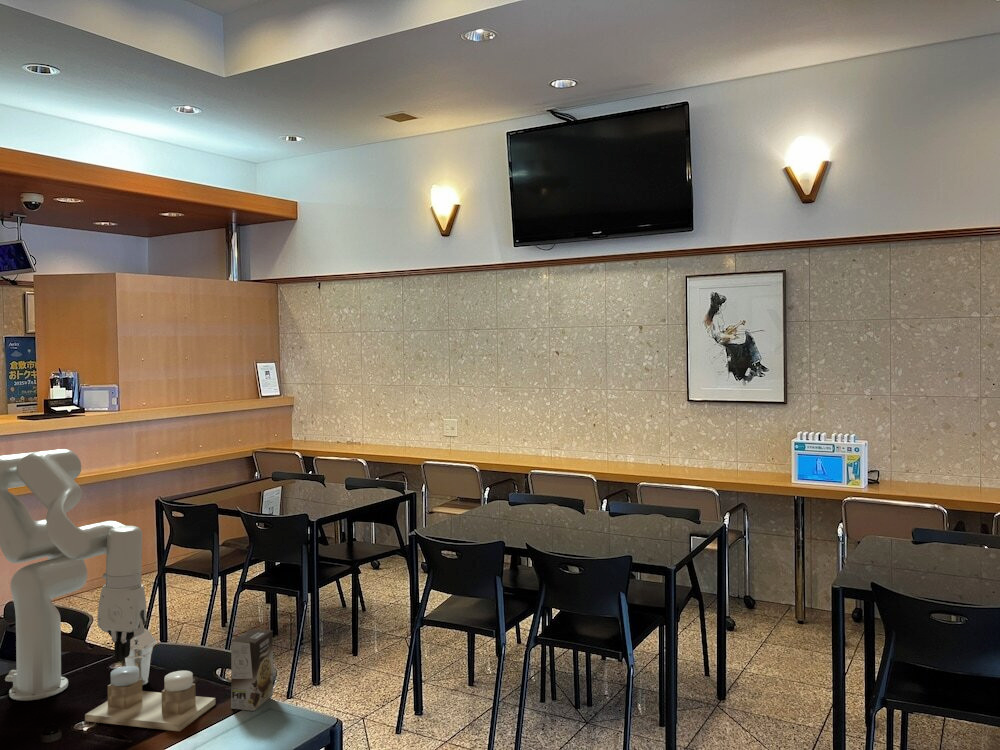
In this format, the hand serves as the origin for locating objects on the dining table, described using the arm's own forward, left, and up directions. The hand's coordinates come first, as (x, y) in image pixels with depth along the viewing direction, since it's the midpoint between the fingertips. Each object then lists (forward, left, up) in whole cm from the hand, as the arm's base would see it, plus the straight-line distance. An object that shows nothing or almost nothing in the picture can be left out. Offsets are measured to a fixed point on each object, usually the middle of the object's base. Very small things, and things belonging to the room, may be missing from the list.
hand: (122, 657), depth 184 cm
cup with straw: (-6, +14, -12) cm, 20 cm away
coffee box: (+28, +10, -12) cm, 32 cm away
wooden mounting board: (+8, 0, -12) cm, 15 cm away
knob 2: (+15, 0, -10) cm, 18 cm away
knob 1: (+1, 0, -10) cm, 11 cm away
